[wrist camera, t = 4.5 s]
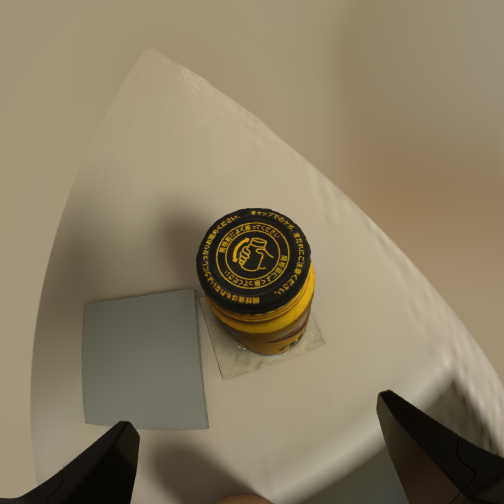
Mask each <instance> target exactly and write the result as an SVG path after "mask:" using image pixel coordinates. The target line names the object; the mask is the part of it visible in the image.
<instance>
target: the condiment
mask: <svg viewBox="0 0 504 504" xmlns="http://www.w3.org/2000/svg"><path fill="white" fill-rule="evenodd" d="M310 254H311V250H310V246H309V244H308V242H307V240H306V237H305V235H304V234H303V232H302V230H301V228H299V226H298V225H297V224H295V223H294V222H293V221H292V220H291V219H290V218H288V217H286V216H285V215H282V214H280V213H278V212H275V211H272V210H271V209H263V208H247V209H240V210H238V211H235V212H233V213H230V214H227V215H225V216H223V217H222V218H221V219H219V220H217V221H216V222H215V223H214V224H213V225H212V226H211V227H210V228H209V230H208V231H207V233H206V235H205V237H204V239H203V241H202V242H201V245H200V247H199V251H198V254H197V258H196V263H197V266H196V267H197V273H198V276H199V280H200V283H201V286H202V288H203V290H204V291H205V297H202V298H199V299H200V303H201V306H202V309H203V313H204V316H205V320H206V323H207V327H208V330H209V333H210V337H211V340H212V343H213V347H214V351H215V354H216V357H217V360H218V363H219V367H220V370H221V374H222V377H223V380H224V379H228V378H231V377H234V376H237V375H241V374H244V373H247V372H250V371H253V370H256V369H259V368H262V367H265V366H268V365H271V364H274V363H277V362H280V361H282V360H285V359H288V358H290V357H293V356H296V355H298V354H301V353H304V352H306V351H309V350H311V349H314V348H316V347H319V346H321V345H323V344H325V342H324V340H323V337H322V335H321V332H320V330H319V328H318V325H317V323H316V321H315V318H314V316H313V313H312V311H311V304H312V299H313V296H314V287H315V273H314V269H313V265H312V262H311V259H310ZM237 346H240V347H241V349H239V348H238V347H237ZM243 348H246V350H243Z"/></svg>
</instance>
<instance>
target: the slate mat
mask: <svg viewBox="0 0 504 504" xmlns="http://www.w3.org/2000/svg"><path fill="white" fill-rule="evenodd" d="M82 376H83V401H84V415H85V423H87V424H94V425H103V426H112V427H113V426H114V425H115V424H117V423H118V422H119V421H129V422H131V423H132V425H133V426H134V428H137V429H159V430H195V429H209V424H208V417H207V409H206V400H205V392H204V383H203V373H202V363H201V352H200V341H199V328H198V315H197V300H196V290H195V289H194V288H190V289H184V290H178V291H171V292H165V293H158V294H152V295H145V296H138V297H132V298H125V299H118V300H111V301H103V302H96V303H89V304H85V306H84V321H83V346H82Z"/></svg>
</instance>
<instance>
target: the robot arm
mask: <svg viewBox="0 0 504 504" xmlns="http://www.w3.org/2000/svg"><path fill="white" fill-rule="evenodd" d="M376 410H377V415H378V418H379V422H380V425H381V429H382V432H383V436H384V440H385V443H386V447H387V449H388V452H389V454H390V457H391V459H392V461H393V464H394V466H395V469H396V471H397V474H398V476H399V479H400V481H401V483H402V486H403V489H404V491H405V494H406V496H407V499H408V501H409V504H504V458H503V457H501V456H498V455H496V454H493V453H491V452H489V451H487V450H485V449H482V448H480V447H478V446H476V445H475V444H473V443H471V442H469V441H468V440H466V439H464V438H463V437H461V436H458V434H456V433H455V432H453V431H452V430H450V429H449V428H447V427H445V426H444V425H442V424H441V423H439V422H438V421H436V420H435V419H433V418H432V417H430V416H429V415H427V414H426V413H424V412H422V411H421V410H419V409H418V408H416V407H415V406H413V405H412V404H410V403H409V402H407V401H406V400H405V399H403V398H402V397H400V396H399V395H397V394H396V393H394V392H393V391H391V390H386V391H383V392H380V393H379V394H378V399H377V407H376ZM139 443H140V436H139V434H138V432H137V431H136V429H135V428H134V426H133V425H132V423H131V422H129V421H119V422H118V423H117V424H115V425H114V426H113V427H112V428H111V429H110V430H108V431H107V432H106V433H105V434H104V435H103V436H101V437H100V438H99V439H98V440H97V441H95V442H94V443H93V444H92V445H91V446H89V447H88V448H87V449H86V450H85V451H83V452H82V453H81V454H80V455H79V456H77V457H76V458H75V459H74V460H73V461H71V462H70V463H69V464H68V465H66V466H65V467H64V468H63V470H60V471H59V472H58V473H56V474H55V475H54V476H52V477H51V478H50V479H48V480H47V481H45V482H44V483H42V484H41V485H39V486H38V487H36V488H34V489H33V490H31V491H29V492H28V493H26V494H24V495H23V496H21V497H18V498H11V499H9V498H0V504H130V502H131V497H132V492H133V487H134V482H135V477H136V472H137V463H138V452H139Z"/></svg>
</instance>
